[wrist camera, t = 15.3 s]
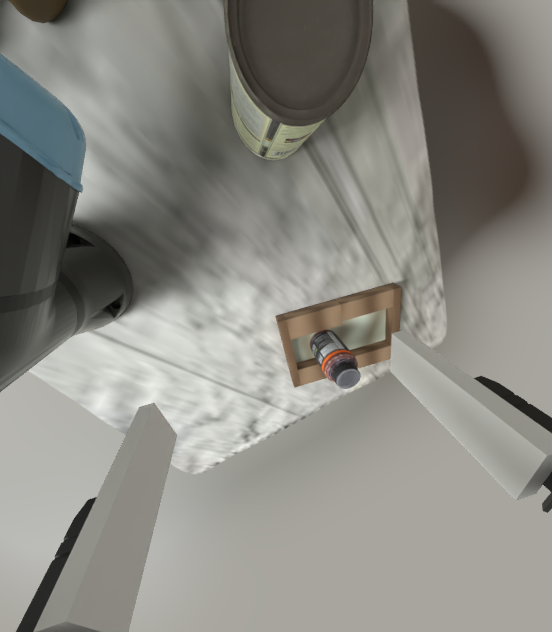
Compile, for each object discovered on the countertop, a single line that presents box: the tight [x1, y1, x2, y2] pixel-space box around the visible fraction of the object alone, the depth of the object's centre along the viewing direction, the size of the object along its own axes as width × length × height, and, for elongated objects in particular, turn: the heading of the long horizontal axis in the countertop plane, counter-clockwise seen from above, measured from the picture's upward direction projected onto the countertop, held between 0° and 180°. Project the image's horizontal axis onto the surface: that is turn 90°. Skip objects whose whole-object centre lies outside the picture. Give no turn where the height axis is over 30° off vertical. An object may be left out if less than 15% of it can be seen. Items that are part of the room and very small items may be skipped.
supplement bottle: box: [310, 330, 360, 389], centre depth 38 cm, size 6×6×11 cm
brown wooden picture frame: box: [276, 283, 402, 387], centre depth 43 cm, size 23×16×2 cm
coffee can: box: [224, 0, 373, 161], centre depth 21 cm, size 10×10×14 cm
